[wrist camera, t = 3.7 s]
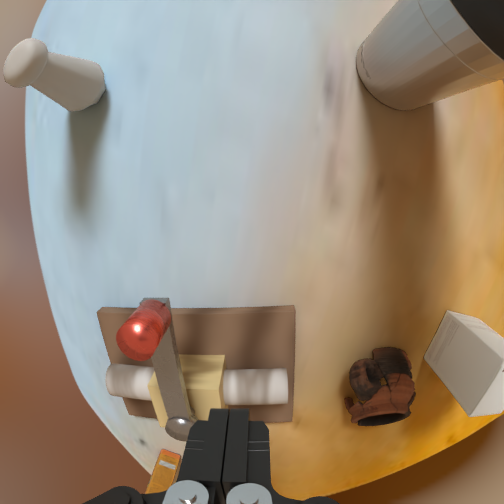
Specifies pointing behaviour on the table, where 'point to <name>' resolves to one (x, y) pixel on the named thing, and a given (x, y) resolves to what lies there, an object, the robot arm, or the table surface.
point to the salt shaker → (54, 75)
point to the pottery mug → (381, 388)
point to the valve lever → (159, 359)
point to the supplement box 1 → (163, 472)
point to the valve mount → (213, 362)
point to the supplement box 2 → (469, 363)
